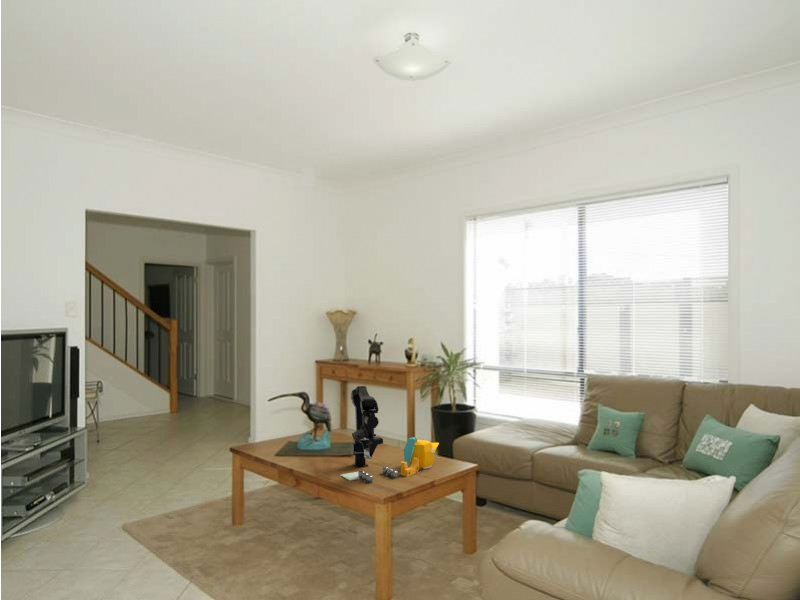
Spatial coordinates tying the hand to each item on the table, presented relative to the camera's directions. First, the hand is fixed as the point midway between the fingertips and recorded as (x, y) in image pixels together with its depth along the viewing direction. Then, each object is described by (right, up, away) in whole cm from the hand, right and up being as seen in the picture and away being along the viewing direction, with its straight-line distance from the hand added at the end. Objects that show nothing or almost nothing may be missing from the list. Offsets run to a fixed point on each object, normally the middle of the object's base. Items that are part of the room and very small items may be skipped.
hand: (368, 455), depth 277 cm
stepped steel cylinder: (0, -1, 0) cm, 1 cm away
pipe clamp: (+21, -11, +7) cm, 25 cm away
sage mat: (-7, -11, +1) cm, 13 cm away
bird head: (+27, -11, +21) cm, 36 cm away
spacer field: (+5, -11, -1) cm, 12 cm away
